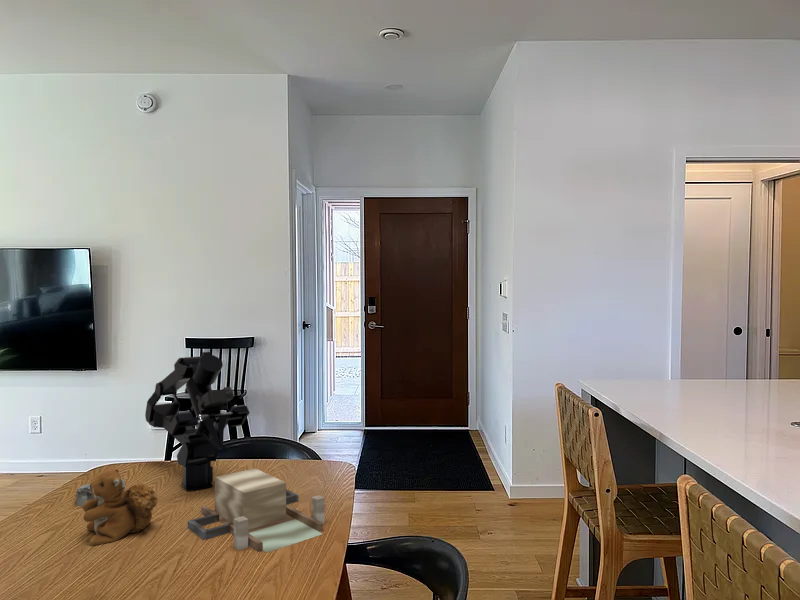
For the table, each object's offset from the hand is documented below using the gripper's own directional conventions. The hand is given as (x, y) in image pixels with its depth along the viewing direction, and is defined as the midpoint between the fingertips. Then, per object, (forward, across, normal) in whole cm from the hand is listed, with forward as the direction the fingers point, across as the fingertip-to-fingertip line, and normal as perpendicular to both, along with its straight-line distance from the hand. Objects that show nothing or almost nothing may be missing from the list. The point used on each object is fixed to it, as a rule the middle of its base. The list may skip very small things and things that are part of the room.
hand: (221, 448), depth 137 cm
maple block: (+19, 0, -2) cm, 19 cm away
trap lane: (+22, 0, -5) cm, 23 cm away
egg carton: (-5, -21, +24) cm, 32 cm away
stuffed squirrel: (+12, -24, +6) cm, 27 cm away
